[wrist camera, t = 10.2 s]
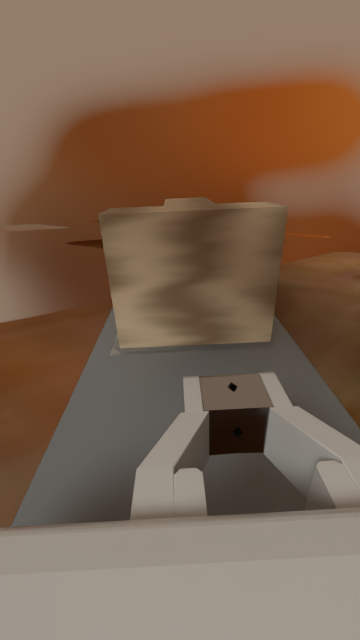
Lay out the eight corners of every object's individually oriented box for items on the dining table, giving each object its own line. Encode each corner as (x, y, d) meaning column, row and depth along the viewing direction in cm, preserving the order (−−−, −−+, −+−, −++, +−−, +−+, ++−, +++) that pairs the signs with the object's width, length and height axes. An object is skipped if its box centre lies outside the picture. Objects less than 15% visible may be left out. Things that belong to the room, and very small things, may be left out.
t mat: (0, 555, 10) (-2, 552, 10) (121, 290, 34) (121, 288, 34) (435, 535, 10) (436, 532, 10) (250, 284, 34) (251, 283, 34)
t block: (119, 348, 22) (98, 214, 17) (137, 292, 33) (126, 200, 28) (270, 341, 22) (288, 206, 17) (238, 288, 33) (244, 195, 28)
